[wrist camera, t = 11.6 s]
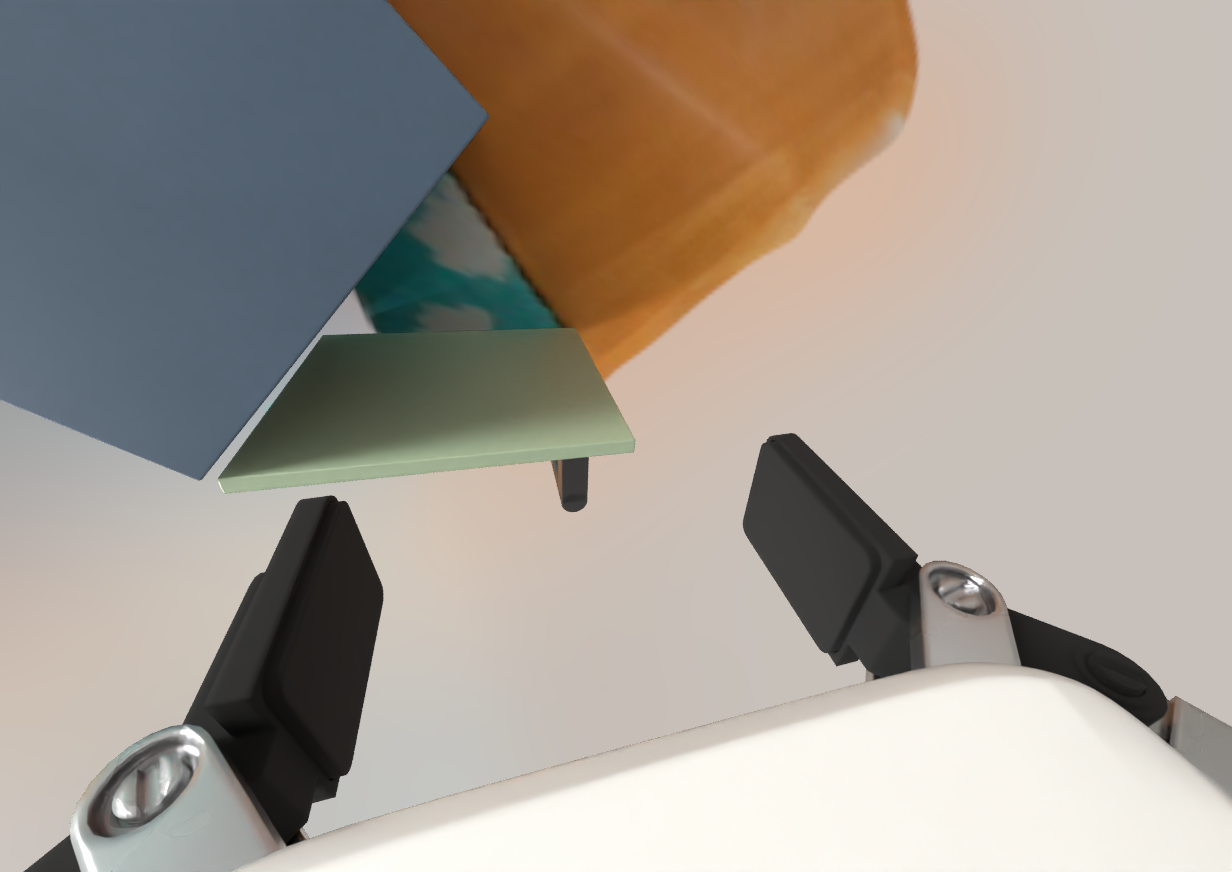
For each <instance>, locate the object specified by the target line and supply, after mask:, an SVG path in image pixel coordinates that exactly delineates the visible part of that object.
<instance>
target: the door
mask: <svg viewBox="0 0 1232 872" xmlns="http://www.w3.org/2000/svg"><path fill="white" fill-rule="evenodd" d="M634 448H635V439H634V437H633V435H632V433H631V431H630V429H629V427H628V426H627V424H626V422H625V420H624V418H623V416H622V414H621V412H620V411H619V409H618V407H617V405H616V403H615V401H614V399H613V397H612V396H611V394H610V392H609V390H608V388H607V386H606V384H605V382H604V381H603V379H602V377H601V375H600V373H599V371H598V369H597V368H596V366H595V364H594V362H593V360H592V358H591V356H590V354H589V353H588V351H587V349H586V347H585V345H584V343H583V341H582V339H581V338H580V336H579V334H578V332H577V330H576V328H575V327H574V328H541V329H509V330H476V331H444V332H411V333H378V334H350V335H349V334H347V335H323V336H322V337H321V338H320V340H319V341H318V343H317V344H316V345H315V347H314V348H313V349H312V351H311V352H310V353H309V355H308V356H307V358H306V359H305V360H304V362H303V363H302V364H301V366H300V367H299V369H298V370H297V371H296V372H295V374H294V375H293V377H292V378H291V379H290V381H289V382H288V383H287V385H286V386H285V387H284V389H283V390H282V392H281V393H280V394H279V396H278V397H277V398H276V400H275V401H274V402H273V404H272V405H271V407H270V408H269V409H268V411H267V412H266V413H265V415H264V416H263V417H262V419H261V420H260V422H259V423H258V424H257V426H256V427H255V428H254V430H253V431H252V432H251V434H250V435H249V437H248V438H247V439H246V441H245V442H244V443H243V445H242V446H241V447H240V449H239V450H238V452H237V453H236V454H235V456H234V457H233V458H232V460H231V461H230V462H229V464H228V465H227V467H226V468H225V469H224V471H223V472H222V473H221V475H220V476H219V477H218V482H219V484H220V486H221V488H222V490H223V492H224V493H225V494H227V493H237V492H247V491H257V490H267V489H275V488H286V487H296V486H305V485H315V484H326V483H336V482H345V481H354V480H365V479H375V478H384V477H394V476H404V475H414V474H424V473H434V472H444V471H454V470H464V469H473V468H483V467H493V466H503V465H513V464H523V463H533V462H543V461H551V463H552V466H553V471H554V475H555V479H556V483H557V487H558V490H559V495H560V499H561V504H562V507H563V508H564V509H565V510H566V511H569V512H577V511H579V510H581V509H583V508H584V507H585V505H586V504H587V490H588V460H589V457H592V456H602V455H611V454H621V453H631V452H634Z"/></svg>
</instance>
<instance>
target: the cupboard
mask: <svg viewBox="0 0 1232 872" xmlns="http://www.w3.org/2000/svg"><path fill="white" fill-rule="evenodd" d="M488 119H489V114H488V113H487V112H486V111H485V110H484V108H483V107H482V106H481V105H480V104H479V103H478V102H477V101H476V100H475V98H474V97H473V96H472V95H471V94H470V93H469V92H468V91H467V89H466V88H465V87H464V86H463V85H462V84H461V83H460V82H459V81H458V79H457V78H456V77H455V76H454V75H453V74H452V73H451V72H450V71H449V69H448V68H447V67H446V66H445V65H444V64H443V63H442V62H441V60H440V59H439V58H438V57H437V56H436V55H435V54H434V53H433V52H432V50H431V49H430V48H429V47H428V46H427V45H426V44H425V43H424V41H423V40H422V39H421V38H420V37H419V36H418V35H417V34H416V33H415V31H414V30H413V29H412V28H411V27H410V26H409V25H408V24H407V22H406V21H405V20H404V19H403V18H402V17H401V16H400V15H399V14H398V12H397V11H396V10H395V9H394V8H393V7H392V6H391V5H390V4H389V2H388V1H387V0H0V400H1V401H3V402H5V403H8V404H10V405H13V406H15V407H18V408H20V409H23V410H25V411H28V412H30V413H33V414H35V415H38V416H40V417H43V418H45V419H48V420H50V421H52V422H55V423H58V424H60V425H62V426H65V427H68V428H70V429H72V430H75V431H77V432H80V433H82V434H85V435H87V436H90V437H92V438H95V439H97V440H100V441H102V442H104V443H107V444H110V445H112V446H114V447H117V448H119V449H122V450H124V451H127V452H129V453H132V454H134V455H137V456H139V457H142V458H144V459H147V460H149V461H152V462H154V463H157V464H159V465H162V466H164V467H166V468H169V469H171V470H174V471H176V472H179V473H181V474H184V475H186V476H189V477H191V478H194V479H196V480H202V479H203V478H204V476H205V475H206V474H207V472H208V471H209V470H210V469H211V467H212V466H213V465H214V464H215V462H216V461H217V460H218V459H219V457H220V456H221V455H222V454H223V452H224V451H225V450H226V449H227V447H228V446H229V445H230V443H231V442H232V441H233V440H234V438H235V437H236V436H237V434H239V432H240V431H241V430H242V428H243V427H244V426H245V425H246V423H247V422H248V421H249V420H250V418H251V417H252V416H253V415H254V413H255V412H256V411H257V410H258V408H259V407H260V406H261V405H262V403H263V402H264V401H265V399H266V398H267V397H268V396H269V394H270V393H271V392H272V391H273V389H274V388H275V387H276V386H277V384H278V383H279V382H280V380H281V379H282V378H283V377H284V375H285V374H286V373H287V372H288V371H289V369H290V368H291V367H292V366H293V364H294V363H295V362H296V360H297V359H298V358H299V357H300V355H301V354H302V353H303V352H304V350H305V349H306V348H307V347H308V345H309V344H310V343H311V342H312V340H313V339H314V338H315V337H316V335H317V334H318V333H319V332H320V330H321V329H322V328H323V327H324V325H325V324H326V323H327V321H328V320H329V319H330V318H331V316H332V315H333V314H334V313H335V311H336V310H337V309H338V308H339V306H340V305H341V304H342V303H343V301H344V300H345V299H346V298H347V296H348V295H349V294H350V293H351V291H352V290H353V289H354V287H355V286H356V285H357V284H358V282H359V281H360V280H361V279H362V277H363V276H364V275H365V274H366V272H367V271H368V270H369V269H370V267H371V266H372V265H373V264H374V262H375V261H376V260H377V259H378V257H379V256H380V255H381V253H382V252H383V251H384V250H385V248H386V247H387V246H388V245H389V243H390V242H391V241H392V240H393V238H394V237H395V236H396V235H397V233H398V232H399V231H400V230H401V228H402V227H403V226H404V225H405V223H406V222H407V221H408V219H409V218H410V217H411V216H412V214H413V213H414V212H415V211H416V209H417V208H418V207H419V206H420V204H421V203H422V202H423V201H424V199H425V198H426V197H427V196H428V194H429V193H430V192H431V191H432V189H433V188H434V187H435V185H436V184H437V183H438V182H439V180H440V179H441V178H442V177H443V175H444V174H445V173H446V172H447V170H448V169H449V168H450V167H451V165H452V164H453V163H454V162H455V160H456V159H457V158H458V157H459V155H460V154H461V153H462V151H463V150H464V149H465V148H466V146H467V145H468V144H469V143H470V141H471V140H472V139H473V138H474V136H475V135H476V134H477V133H478V131H479V130H480V129H481V128H482V126H483V125H484V124H485V123H486V121H487V120H488Z"/></svg>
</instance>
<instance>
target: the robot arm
mask: <svg viewBox="0 0 1232 872" xmlns="http://www.w3.org/2000/svg"><path fill="white" fill-rule="evenodd" d="M743 528H744V532H745V534H746V536H747V538H748V539H749V541H750V542H751V544H752V545H753V547H754V549H755V550H756V552H757V553H758V555H759V556H760V558H761V559H762V561H763V562H764V564H765V566H766V567H767V568H768V570H769V572H770V573H771V575H772V576H773V578H774V579H775V581H776V582H777V584H778V586H779V587H780V589H781V590H782V592H783V593H784V595H785V597H786V598H787V600H788V601H789V602H790V604H791V606H792V607H793V609H794V610H795V612H796V613H797V615H798V617H799V618H800V620H801V621H802V623H803V624H804V626H805V627H806V629H807V631H808V632H809V634H810V635H811V637H812V638H813V640H814V642H815V643H816V644H817V646H818V647H819V649H820V650H821V651H822V652H824V653H828V654H829V655H830V657H831V658H832V660H833V661H834V663H835V664H836V666H839V665H843V664H847V663H851V662H855V661H858V659H860V661H861V662H862V664H863V665H864V666H865V668H866V682H864V683H860V684H856V685H852V686H848V687H844V688H841V689H837V690H833V691H829V692H826V693H822V694H818V695H814V696H810V697H807V698H803V699H800V700H796V701H792V702H788V703H784V704H781V705H777V706H773V707H769V708H766V709H762V710H758V711H754V712H751V713H747V714H744V715H739V716H736V717H732V718H728V719H725V720H721V721H718V722H714V723H710V724H706V725H703V726H699V727H695V728H692V729H688V730H684V731H681V732H677V733H673V734H670V735H666V736H663V737H659V738H655V739H651V740H648V741H644V742H640V743H637V744H633V745H629V746H626V747H622V748H619V749H615V750H611V751H607V752H604V753H601V754H597V755H593V756H590V757H586V758H582V759H579V760H575V761H571V762H568V763H565V764H561V765H557V766H553V767H550V768H547V769H543V770H539V771H535V772H532V773H528V774H525V775H521V776H518V777H514V778H510V779H507V780H503V781H499V782H496V783H492V784H489V785H485V786H482V787H478V788H474V789H471V790H467V791H463V792H460V793H456V794H453V795H449V796H446V797H442V798H439V799H436V800H432V801H429V802H425V803H422V804H419V805H416V806H412V807H409V808H405V809H402V810H398V811H395V812H392V813H388V814H385V815H382V816H378V817H375V818H372V819H368V820H365V821H362V822H358V823H355V824H351V825H348V826H345V827H342V828H339V829H336V830H333V831H330V832H327V833H324V834H322V835H319V836H316V837H313V838H309V836H308V835H307V833H306V832H305V830H304V829H303V826H304V825H305V823H307V821H308V818H309V814H310V810H311V805H312V803H315V802H319V801H322V800H326V799H330V798H334V797H336V792H337V787H338V782H339V778H340V776H344V775H346V774H348V772H349V770H350V768H351V764H352V760H353V755H354V750H355V745H356V739H357V734H358V729H359V724H360V719H361V713H362V708H363V703H364V697H365V692H366V687H367V682H368V677H369V671H370V667H371V662H372V656H373V651H374V646H375V641H376V636H377V630H378V625H379V620H380V615H381V610H382V604H383V587H382V584H381V581H380V579H379V577H378V574H377V572H376V570H375V567H374V565H373V563H372V560H371V558H370V555H369V553H368V550H367V548H366V546H365V543H364V541H363V539H362V536H361V534H360V531H359V529H358V527H357V524H356V522H355V519H354V517H353V515H352V512H351V510H350V507H349V505H348V503H347V502H345V501H340V502H338V500H337V498H336V497H335V496H324V497H317V498H309V499H303V500H300V501H299V502H298V503H297V505H296V507H295V509H294V511H293V513H292V515H291V518H290V520H289V522H288V524H287V526H286V529H285V531H284V533H283V535H282V537H281V539H280V541H279V544H278V546H277V548H276V550H275V552H274V554H273V556H272V559H271V561H270V563H269V565H268V567H267V569H266V571H265V572H264V573H260V574H259V575H257V576H256V577H255V578H254V580H253V581H252V583H251V584H250V586H249V588H248V590H247V592H246V595H245V596H244V598H243V601H242V603H241V605H240V607H239V609H238V611H237V613H236V615H235V617H234V619H233V621H232V624H231V626H230V628H229V630H228V632H227V634H226V636H225V638H224V640H223V642H222V644H221V646H220V648H219V650H218V652H217V654H216V657H215V659H214V661H213V663H212V665H211V667H210V669H209V671H208V673H207V675H206V677H205V679H204V681H203V683H202V685H201V687H200V689H199V691H198V694H197V696H196V698H195V700H194V702H193V704H192V706H191V708H190V710H189V712H188V714H187V716H186V718H185V720H184V723H183V725H177V726H171V727H168V728H165V729H162V730H160V731H157V732H155V733H152V734H150V735H148V736H146V737H145V738H143V739H141V740H139V741H138V742H136V743H134V744H133V745H131V746H129V747H128V748H127V749H126V750H124V751H123V752H122V753H121V754H119V755H118V756H117V757H116V758H115V759H113V760H112V761H111V762H109V763H108V764H107V766H106V767H105V768H104V769H103V770H102V771H101V772H100V773H99V774H98V775H97V776H96V777H95V778H94V779H93V781H92V782H91V783H90V784H89V786H88V787H87V789H86V791H85V792H84V793H83V795H82V797H81V798H80V800H79V801H78V803H77V805H76V808H75V811H74V813H73V816H72V819H71V822H70V835H69V836H68V837H66V838H65V839H64V840H63V841H61V842H60V843H59V844H58V845H57V846H55V847H54V848H53V849H52V850H50V851H49V852H48V853H46V854H45V855H44V856H43V857H42V858H40V859H39V860H38V861H37V862H35V863H34V864H33V865H31V866H30V867H29V868H28V869H27V870H25V871H24V872H1232V727H1231V726H1229V725H1227V724H1226V723H1223V722H1222V721H1220V720H1218V719H1216V718H1214V717H1213V716H1211V715H1209V714H1208V713H1206V712H1204V711H1202V710H1200V709H1199V708H1197V707H1195V706H1193V705H1191V704H1190V703H1188V702H1186V701H1184V700H1182V699H1181V698H1179V697H1177V696H1175V697H1174V698H1172V699H1171V700H1170V701H1169V700H1167V699H1166V697H1165V695H1164V693H1163V691H1162V690H1161V688H1160V686H1159V685H1158V684H1157V683H1156V682H1155V681H1154V680H1153V679H1152V677H1151V676H1150V675H1149V674H1148V673H1147V672H1146V671H1145V670H1143V669H1142V668H1141V667H1140V666H1138V665H1137V664H1136V663H1135V662H1133V661H1132V660H1130V659H1129V658H1127V657H1125V656H1124V655H1122V654H1121V653H1119V652H1117V651H1115V650H1113V649H1111V648H1109V647H1106V646H1105V645H1103V644H1100V643H1097V642H1094V641H1092V640H1089V639H1087V638H1084V637H1082V636H1079V635H1076V634H1074V633H1071V632H1068V631H1066V630H1063V629H1060V628H1058V627H1055V626H1052V625H1050V624H1047V623H1045V622H1042V621H1039V620H1037V619H1034V618H1032V617H1029V616H1026V615H1023V614H1021V613H1018V612H1016V611H1013V610H1010V609H1008V608H1007V606H1006V603H1005V601H1004V599H1003V597H1002V595H1001V593H1000V592H999V591H998V590H997V589H996V588H995V586H994V585H993V584H992V583H991V582H989V581H988V580H987V579H986V578H984V577H983V576H982V575H980V574H978V573H977V572H975V571H973V570H971V569H970V568H967V567H964V566H962V565H960V564H957V563H952V562H947V561H932V562H929V563H926V564H925V565H924V566H923V567H921V566H920V565H919V564H918V563H917V562H916V561H915V560H916V559H917V557H918V555H917V554H916V553H915V552H914V551H913V550H912V549H911V548H910V547H909V546H908V545H907V544H906V543H905V542H904V541H903V540H902V539H901V538H900V537H899V536H898V535H897V534H896V533H895V532H894V531H893V530H892V529H891V528H890V527H889V526H888V525H887V524H886V523H885V522H884V521H883V520H882V519H881V518H880V517H879V516H878V515H877V514H876V513H875V512H874V511H873V510H872V509H871V508H870V507H869V506H868V505H867V504H866V503H865V502H864V501H863V500H862V499H861V498H860V497H859V496H858V495H857V494H856V493H855V492H854V491H853V490H852V489H851V488H850V487H849V486H848V485H847V484H846V483H845V482H844V481H843V480H842V479H841V478H840V477H839V476H838V475H837V474H836V473H835V472H834V471H833V470H832V469H830V467H829V466H828V465H827V464H826V463H825V462H824V461H823V460H822V459H821V458H820V457H818V455H816V454H815V453H814V451H813V450H811V449H810V448H809V447H808V446H807V445H806V444H805V443H804V442H803V441H802V440H801V439H800V438H799V437H798V436H797V435H796V434H793V433H789V434H782V435H775V436H770V437H769V438H768V439H767V442H766V443H763V444H762V446H761V449H760V453H759V457H758V461H757V466H756V470H755V474H754V478H753V482H752V486H751V490H750V494H749V498H748V502H747V507H746V511H745V515H744V519H743Z"/></svg>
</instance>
